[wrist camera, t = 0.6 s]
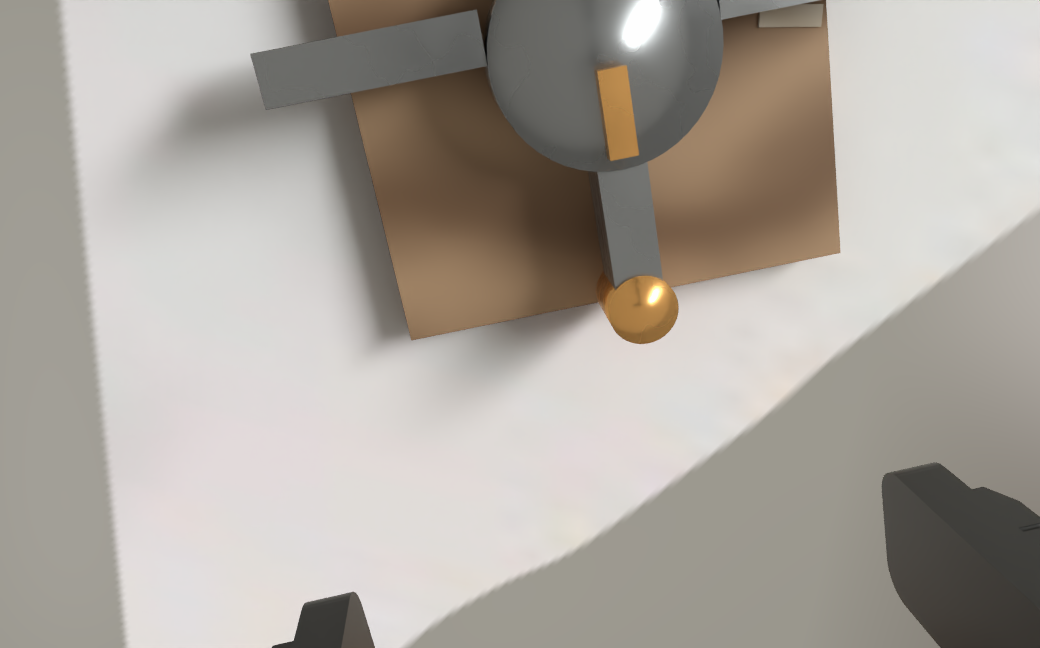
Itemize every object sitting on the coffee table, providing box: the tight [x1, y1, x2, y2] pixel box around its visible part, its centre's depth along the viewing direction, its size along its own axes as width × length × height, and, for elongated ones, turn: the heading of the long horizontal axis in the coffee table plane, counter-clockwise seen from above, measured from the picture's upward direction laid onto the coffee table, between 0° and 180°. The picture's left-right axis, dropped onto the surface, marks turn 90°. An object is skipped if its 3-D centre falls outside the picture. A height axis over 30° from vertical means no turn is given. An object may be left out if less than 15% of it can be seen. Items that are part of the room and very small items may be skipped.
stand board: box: [328, 0, 840, 340], centre depth 32 cm, size 22×18×2 cm
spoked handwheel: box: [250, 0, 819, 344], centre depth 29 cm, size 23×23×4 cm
